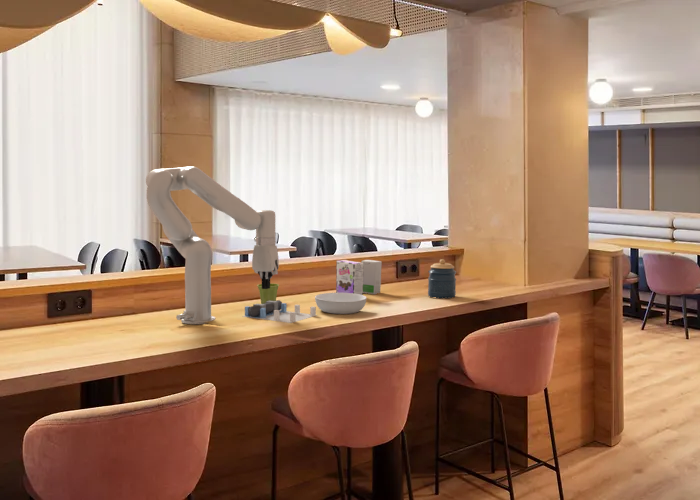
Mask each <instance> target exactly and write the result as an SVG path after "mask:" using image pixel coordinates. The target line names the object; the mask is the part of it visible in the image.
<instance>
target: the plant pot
mask: <svg viewBox="0 0 700 500" xmlns="http://www.w3.org/2000/svg"><path fill="white" fill-rule="evenodd" d="M256 287H257V289H258V291H259V298H260V304H264V303H266V301H277V297H278V296H277V295H278V289H279V287H280V284H278V283H273V282H272V283H271V282H270V288H269V289H262V283H260V284H259V283H258V284H257V285H256Z"/></svg>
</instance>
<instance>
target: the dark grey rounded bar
mask: <svg viewBox="0 0 700 500" xmlns="http://www.w3.org/2000/svg"><path fill="white" fill-rule="evenodd" d="M281 303H283V302H282V301H281V300H279V299H278V300H277V299H276V301H266V303H264V304H261V303H253V305H250V307H249V309H248V313H249V315H250V316H251V317H254V316H260V309H261V308H266V313H270V312H271V313H274V310H281Z"/></svg>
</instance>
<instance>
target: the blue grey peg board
mask: <svg viewBox="0 0 700 500" xmlns="http://www.w3.org/2000/svg"><path fill="white" fill-rule="evenodd" d="M287 303H288V302H287ZM287 303H285V302H282V303H281V310H274V313H271V312H270V313H266V308H261V309H260V316H254V317H251V316H250V315H249V313H248V309H249V307H251V305H250V306H249V305H246V306H244V315H242V317H245V318H251V319H257V320H259V319H260V320H267V321H273V322H280V323H281V322H282V323H287V324H292V323H296V322H299V321H303V320H306V319H309V318H312V317H317V316H318V314H316V313H317V311H316V309H317V306H310V310H309V311H310V313H305V312H304V313H303V312H301V305H300V304H294V311H288V309H287V306H288V305H287Z"/></svg>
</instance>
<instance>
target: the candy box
mask: <svg viewBox="0 0 700 500" xmlns="http://www.w3.org/2000/svg"><path fill="white" fill-rule="evenodd" d="M335 267H336V277H335V279H336V280H335V281H336V282H335V283H336V284H335V285H336V287H335V291H336V292H335V293H354V294H360V295H363V294H364V293H363V263H361V262H360V261H353V260H347V259H342V260H336V265H335Z"/></svg>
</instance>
